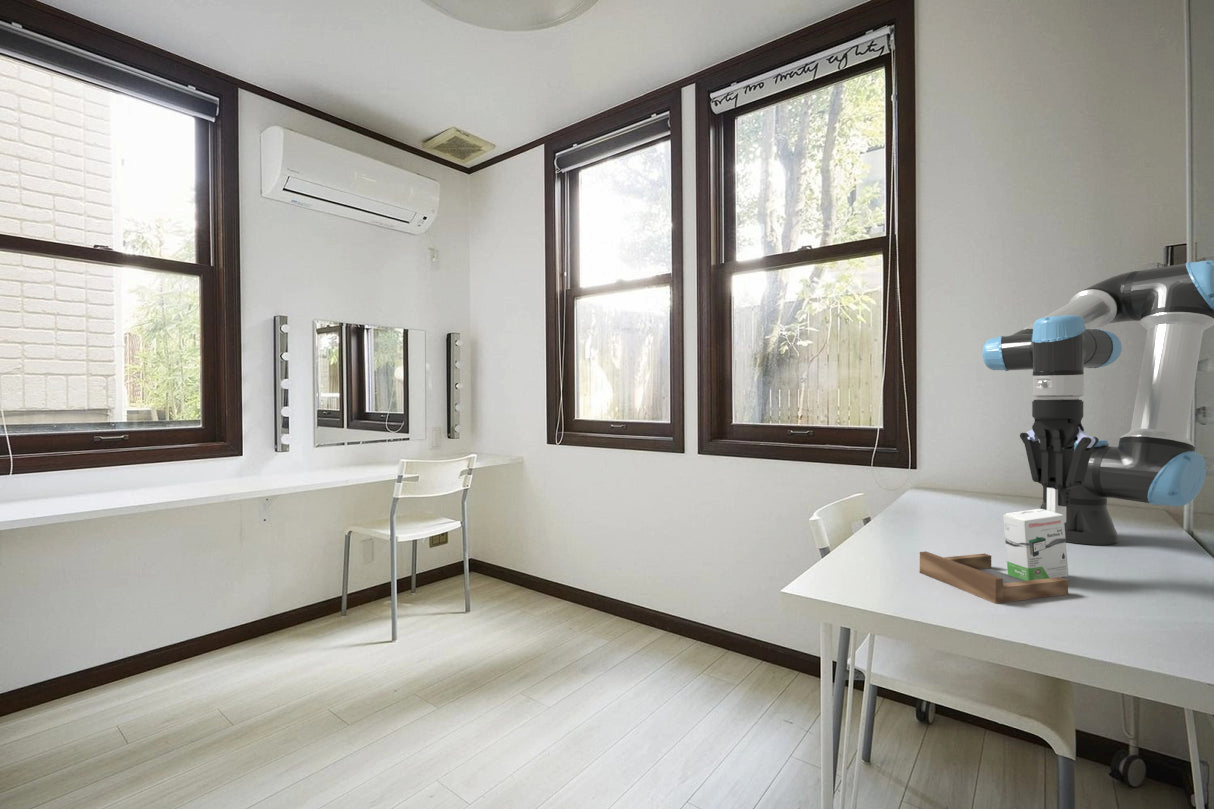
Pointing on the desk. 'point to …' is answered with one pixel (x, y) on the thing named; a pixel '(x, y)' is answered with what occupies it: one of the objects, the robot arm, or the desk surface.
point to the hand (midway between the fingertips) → (1056, 521)
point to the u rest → (987, 578)
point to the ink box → (1035, 544)
